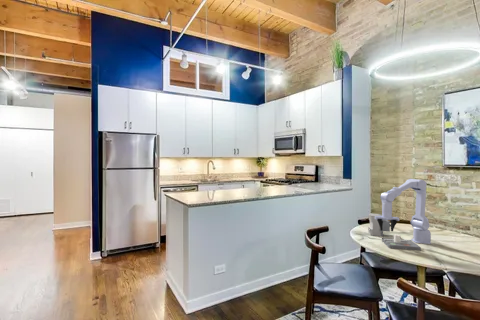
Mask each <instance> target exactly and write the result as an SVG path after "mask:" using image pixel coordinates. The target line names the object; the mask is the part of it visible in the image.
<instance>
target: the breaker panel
mask: <svg viewBox="0 0 480 320" xmlns="http://www.w3.org/2000/svg"><path fill="white" fill-rule="evenodd" d="M381 242H382V243H383V242H384V243H383V244H384V245H386V247H388V249H397V250H408V251H409V250H410V251H411V250H412V251H421V250H422V249H421V246H419V245H418V243H415V242H414V241H412V240H411V239H401V242H394V238H386V237H385V238H382V239H381Z"/></svg>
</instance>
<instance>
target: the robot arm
mask: <svg viewBox="0 0 480 320" xmlns="http://www.w3.org/2000/svg"><path fill="white" fill-rule="evenodd" d="M409 189H411V190H413V191H415V193H416V194H415V195H416V198H415V212H414V213H415V214H414V215H412V216H411V220H410V225H411V227H412V229H413V234H412V235H413V238H411V239H410V240H411V241H412V242H414V243H415V244H424V245H426V244H427V245H428V244H429V245H431V244H432V242H431V241H432V239H431V238H432V237H431V236H432V234H431V230H429V228H430V222H429V218H428V217H427V216H426V202H427V200H426V199H427V181H425V180H424V179H418V178H417V179H415V178H408V179H407V180H405V182H404V183H402V184H401V185H399V186H393V187H392V188H391V189H390V190H387V191H385V192H382V193H381V194H380V196H379V198H380V200H381V215H382V216H375V219H376V220H377V221H378V223H379V226H380V230H381V231H382V230H383V227H382V226H383V221H382V220H388V221H390V225H391V226H390V232H394V229H395V226H396V225H397V223H398V222H399V221H400V217H399V216H398V217H397V216H393V202H394V201H395V199H396V198H397V197H399V196H400V195H402V192H404V191H406V190H409Z"/></svg>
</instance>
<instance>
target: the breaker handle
mask: <svg viewBox="0 0 480 320" xmlns="http://www.w3.org/2000/svg"><path fill="white" fill-rule="evenodd" d="M401 237H402V236H401V235H400V234H395V233H394V234H393V239H394V242H401V240H402V239H401Z"/></svg>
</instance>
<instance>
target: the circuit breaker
mask: <svg viewBox="0 0 480 320" xmlns="http://www.w3.org/2000/svg"><path fill="white" fill-rule="evenodd" d="M375 216H382V213H381V214H380V213H368V220H369V226H368V231H367V232H368V234H369V235H370V236H374V237H384V233H385V232H388V233H389V232H391V221H390V220H382V221H383V226H382V227H383V230H382V231H381V230H380V226H379V223H378V221H377V220H376V219H375Z"/></svg>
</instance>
